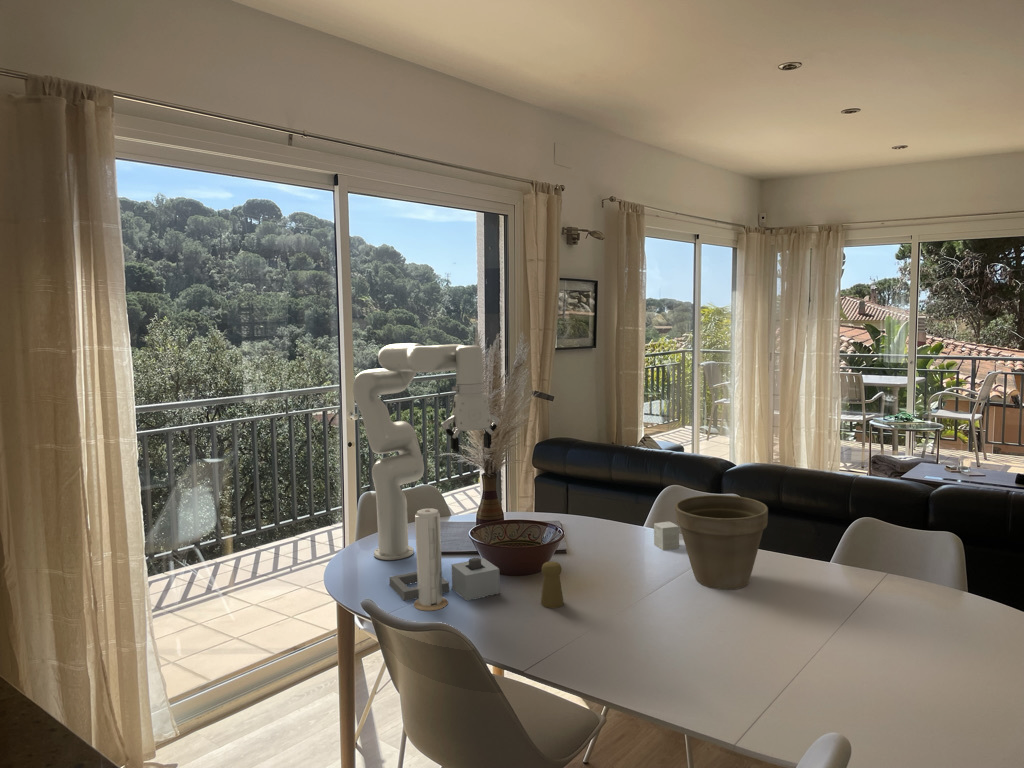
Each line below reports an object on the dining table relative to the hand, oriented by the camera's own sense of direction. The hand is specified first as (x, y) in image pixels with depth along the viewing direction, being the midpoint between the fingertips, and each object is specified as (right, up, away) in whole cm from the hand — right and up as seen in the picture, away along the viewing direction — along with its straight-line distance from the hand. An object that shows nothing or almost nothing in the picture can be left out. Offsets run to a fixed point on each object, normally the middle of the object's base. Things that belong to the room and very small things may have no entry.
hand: (471, 449), depth 206 cm
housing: (+1, -39, -4) cm, 39 cm away
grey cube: (+61, -34, +29) cm, 76 cm away
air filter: (-10, -40, -12) cm, 43 cm away
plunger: (+1, -34, -5) cm, 34 cm away
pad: (-10, -40, -13) cm, 43 cm away
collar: (-15, -39, -1) cm, 42 cm away
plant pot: (+70, -37, -1) cm, 79 cm away
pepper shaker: (+22, -40, -14) cm, 47 cm away
